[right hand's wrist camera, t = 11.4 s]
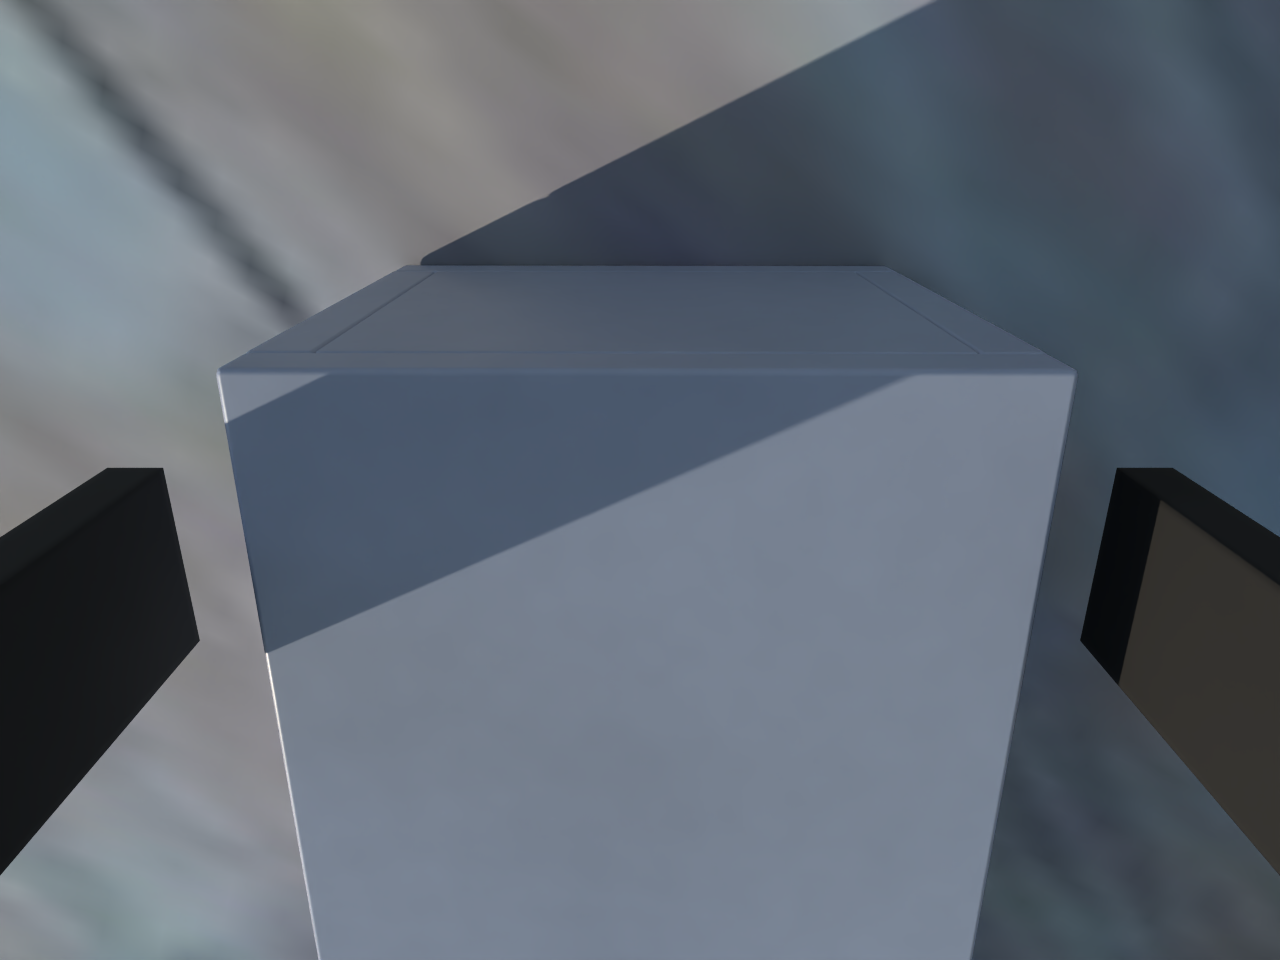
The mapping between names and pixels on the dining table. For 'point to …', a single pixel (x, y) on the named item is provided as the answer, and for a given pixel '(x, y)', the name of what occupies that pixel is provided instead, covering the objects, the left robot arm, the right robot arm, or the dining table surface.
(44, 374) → the dining table surface
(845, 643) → the cabinet
